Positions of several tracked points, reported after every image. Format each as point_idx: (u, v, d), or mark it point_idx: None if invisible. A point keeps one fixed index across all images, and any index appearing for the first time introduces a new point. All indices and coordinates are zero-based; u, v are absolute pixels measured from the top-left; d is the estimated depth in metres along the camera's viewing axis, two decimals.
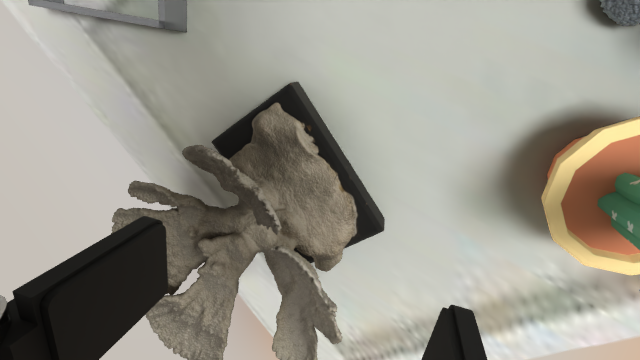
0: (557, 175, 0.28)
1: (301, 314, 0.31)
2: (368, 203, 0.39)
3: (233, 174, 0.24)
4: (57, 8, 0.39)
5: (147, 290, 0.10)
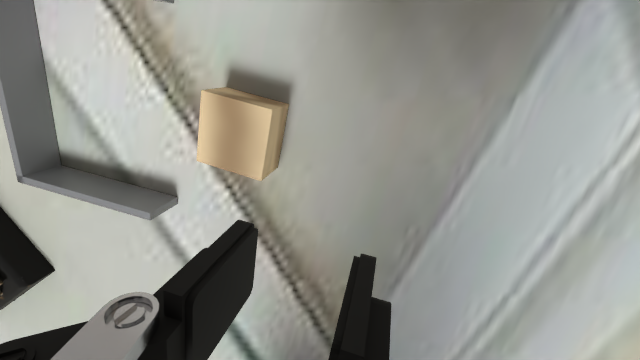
0: None
1: None
2: None
3: None
4: None
5: (242, 289, 0.11)
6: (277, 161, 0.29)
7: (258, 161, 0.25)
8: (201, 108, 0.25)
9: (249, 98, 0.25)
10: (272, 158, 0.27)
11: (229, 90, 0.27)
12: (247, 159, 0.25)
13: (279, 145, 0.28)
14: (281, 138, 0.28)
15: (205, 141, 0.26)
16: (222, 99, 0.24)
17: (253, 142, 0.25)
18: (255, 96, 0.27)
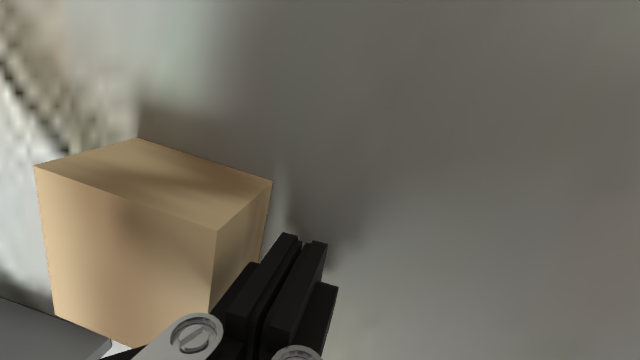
0: None
1: None
2: None
3: None
4: None
5: None
6: None
7: None
8: (42, 208, 0.10)
9: (171, 178, 0.10)
10: None
11: (133, 150, 0.11)
12: None
13: None
14: (255, 252, 0.13)
15: (65, 279, 0.11)
16: (87, 191, 0.09)
17: (174, 299, 0.10)
18: (194, 164, 0.12)
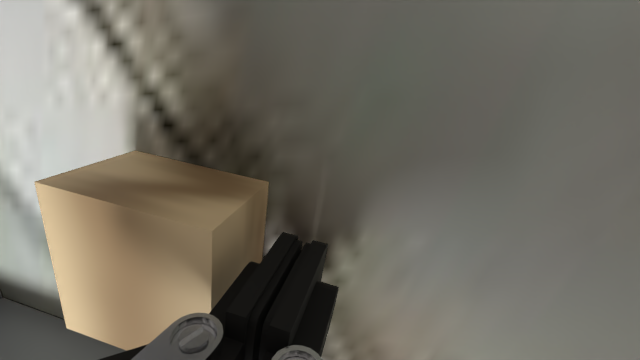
0: None
1: None
2: None
3: None
4: None
5: None
6: None
7: None
8: (46, 223, 0.10)
9: (168, 185, 0.10)
10: None
11: (131, 162, 0.12)
12: None
13: None
14: (258, 254, 0.13)
15: (73, 291, 0.11)
16: (86, 202, 0.09)
17: (178, 303, 0.10)
18: (191, 171, 0.12)
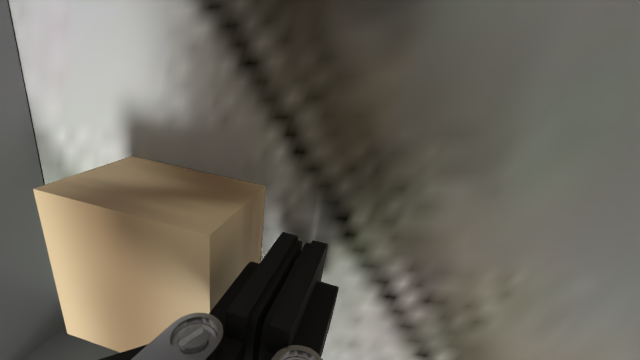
0: None
1: None
2: None
3: None
4: None
5: None
6: None
7: None
8: (45, 229, 0.10)
9: (166, 190, 0.11)
10: None
11: (129, 167, 0.12)
12: None
13: None
14: (257, 257, 0.13)
15: (73, 297, 0.11)
16: (85, 208, 0.09)
17: (177, 307, 0.10)
18: (188, 175, 0.12)
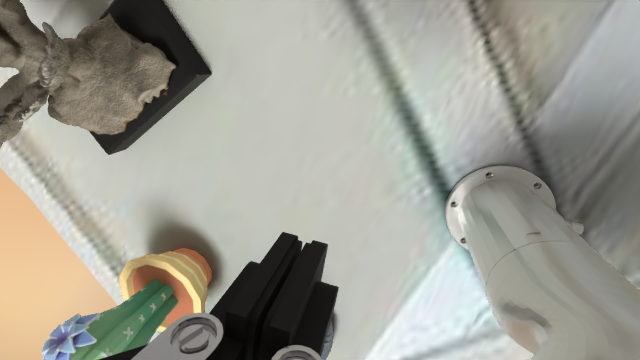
0: (161, 262, 0.47)
1: None
2: (125, 141, 0.48)
3: (41, 81, 0.28)
4: None
5: None
6: None
7: None
8: None
9: None
10: None
11: None
12: None
13: None
14: None
15: None
16: None
17: None
18: None
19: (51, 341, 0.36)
